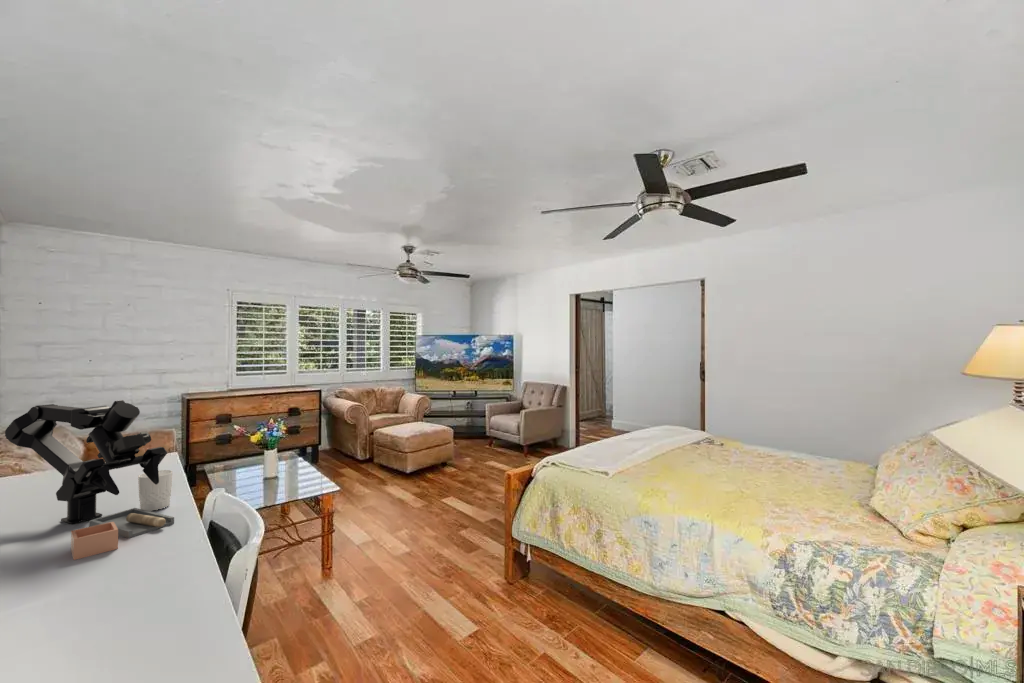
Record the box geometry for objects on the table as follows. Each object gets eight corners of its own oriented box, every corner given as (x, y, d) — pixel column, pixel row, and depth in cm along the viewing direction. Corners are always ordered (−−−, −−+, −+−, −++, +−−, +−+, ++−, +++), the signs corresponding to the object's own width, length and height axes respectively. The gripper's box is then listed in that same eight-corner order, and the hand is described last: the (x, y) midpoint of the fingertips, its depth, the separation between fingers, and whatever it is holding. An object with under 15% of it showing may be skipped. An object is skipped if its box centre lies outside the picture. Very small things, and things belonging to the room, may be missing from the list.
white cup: (152, 513, 124) (153, 478, 124) (130, 511, 126) (130, 476, 126) (178, 504, 132) (179, 470, 132) (157, 502, 133) (158, 469, 134)
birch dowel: (123, 516, 114) (151, 505, 110) (133, 512, 116) (160, 501, 112) (131, 537, 114) (159, 527, 110) (141, 532, 116) (168, 523, 112)
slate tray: (89, 529, 113) (89, 520, 113) (134, 515, 122) (135, 507, 122) (128, 540, 106) (128, 531, 106) (174, 525, 115) (174, 517, 115)
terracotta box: (70, 552, 100) (71, 530, 100) (113, 542, 105) (113, 521, 105) (73, 562, 95) (73, 539, 95) (117, 551, 100) (118, 529, 101)
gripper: (82, 429, 108) (110, 478, 104) (163, 418, 125) (190, 459, 122) (61, 459, 110) (89, 508, 106) (144, 444, 128) (170, 485, 124)
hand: (138, 488), depth 114 cm, fingers open, 9 cm apart
